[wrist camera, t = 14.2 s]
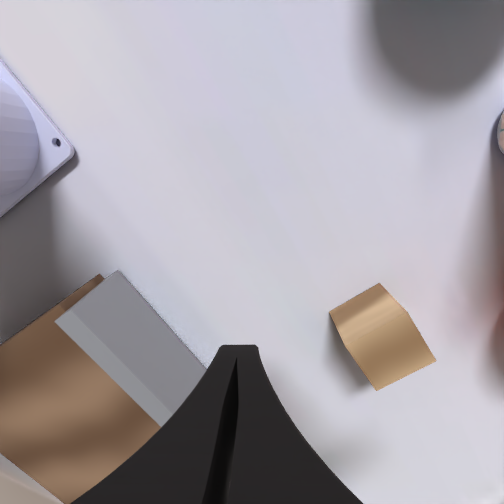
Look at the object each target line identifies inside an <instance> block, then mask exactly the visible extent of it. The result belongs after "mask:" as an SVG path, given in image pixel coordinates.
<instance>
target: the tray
mask: <svg viewBox="0 0 504 504" xmlns="http://www.w3.org/2000/svg"><path fill="white" fill-rule="evenodd" d="M54 322H55V323H56V324H57V325H58V326H59V327H60V328H61V329H62V330H63V331H64V332H65V333H66V334H67V335H68V336H69V337H70V338H71V339H72V340H74V341H75V342H76V343H77V344H78V345H79V346H80V347H81V348H82V349H83V350H84V351H85V352H86V353H87V354H88V355H89V356H90V357H91V358H92V359H93V360H94V361H95V362H96V363H97V364H98V365H99V366H100V367H101V368H102V369H103V370H104V371H105V372H106V373H107V374H108V375H109V376H110V377H111V378H112V379H113V380H114V381H115V382H116V383H117V384H118V385H119V386H120V387H121V388H122V389H123V390H124V391H125V392H126V393H127V394H128V395H129V396H130V397H131V398H132V399H133V400H134V401H135V402H136V403H137V404H138V405H139V406H140V407H141V408H142V409H143V410H144V411H145V412H146V413H147V414H148V415H149V416H150V417H151V418H152V419H153V420H154V421H155V422H156V423H157V424H158V425H159V426H161V427H162V426H163V425H164V424H165V423H166V422H167V421H168V420H169V418H170V417H171V416H172V415H173V414H174V413H175V412H176V410H177V409H178V408H179V407H180V406H181V405H182V403H183V402H184V401H185V399H186V398H187V397H188V396H189V394H190V393H191V392H192V390H193V389H194V388H195V386H196V385H197V384H198V382H199V381H200V379H201V378H202V376H203V375H204V373H205V372H206V369H205V367H204V366H203V365H202V364H201V363H200V362H199V361H198V360H197V358H196V357H195V356H194V355H193V354H192V353H191V352H190V350H189V349H188V348H187V347H186V346H185V345H184V344H183V343H182V341H181V340H180V339H179V338H178V337H177V336H176V335H175V334H174V332H173V331H172V330H171V329H170V328H169V327H168V326H167V324H166V323H165V322H164V321H163V320H162V319H161V318H160V317H159V315H158V314H157V313H156V312H155V311H154V310H153V309H152V308H151V306H150V305H149V304H148V303H147V302H146V301H145V300H144V298H143V297H142V296H141V295H140V294H139V293H138V292H137V291H136V289H135V288H134V287H133V286H132V285H131V284H130V283H129V282H128V280H127V279H126V278H125V277H124V276H123V275H122V274H121V272H120V271H119V270H117V271H116V272H114V273H113V274H111V275H110V276H109V277H107V278H106V279H104V280H103V281H102V282H101V283H100V284H98V285H97V286H96V287H95V288H94V289H92V290H91V291H90V292H89V293H88V294H86V295H85V296H84V297H83V298H82V299H80V300H79V301H78V302H77V303H76V304H74V305H73V306H72V307H71V308H70V309H68V310H67V311H66V312H65V313H64V314H62V315H61V316H60V317H59V318H58V319H56V320H55V321H54Z"/></svg>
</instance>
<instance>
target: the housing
mask: <svg viewBox="0 0 504 504" xmlns="http://www.w3.org/2000/svg"><path fill="white" fill-rule="evenodd" d="M103 280H104V278H103V277H102V276H101V275H100V274H98V275H97V276H96V277H94V278H93V279H91V280H90V281H89V282H87V283H86V284H85V285H83V286H82V287H80V288H79V289H78V290H76V291H75V292H73V293H72V294H71V295H69V296H68V297H66V298H65V299H64V300H62V301H61V302H59V303H58V304H57V305H55V306H54V307H52V308H51V309H50V310H48V311H47V312H46V313H44V314H43V315H41V316H40V317H39V318H37V319H36V320H34V321H33V322H32V323H30V324H29V325H27V326H26V327H25V328H23V329H22V330H20V331H19V332H18V333H16V334H15V335H14V336H12V337H11V338H9V339H8V340H7V341H5V342H4V343H2V344H1V345H0V453H1V454H2V455H3V456H5V457H6V458H7V459H8V460H10V461H11V462H12V463H14V464H15V465H16V466H17V467H19V468H20V469H21V470H22V471H24V472H25V473H26V474H27V475H29V476H30V477H31V478H33V479H34V480H35V481H36V482H38V483H39V484H40V485H41V486H43V487H44V488H45V489H46V490H48V491H49V492H50V493H52V494H53V495H54V496H55V497H57V498H58V499H59V500H60V501H62V502H63V503H64V504H70V503H71V502H73V501H74V500H76V499H77V498H78V497H80V496H81V495H83V494H84V493H85V492H87V491H88V490H90V489H91V488H92V487H94V486H95V485H96V484H98V483H99V482H100V481H102V480H103V479H104V478H105V477H107V476H108V475H109V474H110V473H112V472H113V471H114V470H115V469H116V468H118V467H119V466H120V465H121V464H122V463H123V462H125V461H126V460H127V459H128V458H129V457H131V456H132V455H133V454H134V453H135V452H136V451H137V450H139V449H140V448H141V447H142V446H143V445H144V444H145V443H146V442H147V441H148V440H149V439H150V438H151V437H152V436H153V435H154V434H155V433H156V432H157V431H158V430H159V429H160V428H161V426H159V425H158V424H157V423H156V422H155V421H154V420H153V419H152V418H151V417H150V416H149V415H148V414H147V413H146V412H145V411H144V410H143V409H142V408H141V407H140V406H139V405H138V404H137V403H136V402H135V401H134V400H133V399H132V398H131V397H130V396H129V395H128V394H127V393H126V392H125V391H124V390H123V389H122V388H121V387H120V386H119V385H118V384H117V383H116V382H115V381H114V380H113V379H112V378H111V377H110V376H109V375H108V374H107V373H106V372H105V371H104V370H103V369H102V368H101V367H100V366H99V365H98V364H97V363H96V362H95V361H94V360H93V359H92V358H91V357H90V356H89V355H88V354H87V353H86V352H85V351H84V350H83V349H82V348H81V347H80V346H79V345H78V344H77V343H76V342H75V341H74V340H72V339H71V338H70V337H69V336H68V335H67V334H66V333H65V332H64V331H63V330H62V329H61V328H60V327H59V326H58V325H57V324H56V323H55V322H54V321H55V320H56V319H58V318H59V317H60V316H61V315H62V314H64V313H65V312H66V311H67V310H68V309H70V308H71V307H72V306H73V305H74V304H76V303H77V302H78V301H79V300H80V299H82V298H83V297H84V296H85V295H86V294H88V293H89V292H90V291H91V290H92V289H94V288H95V287H96V286H97V285H98V284H100V283H101V282H102V281H103Z"/></svg>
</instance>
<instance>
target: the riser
mask: <svg viewBox="0 0 504 504" xmlns="http://www.w3.org/2000/svg"><path fill="white" fill-rule="evenodd" d="M329 313H330V315H331V317H332V319H333V321H334V323H335V326H336V328H337V330H338V332H339V334H340V336H341V338H342V341H343V343H344V345H345V347H346V348H347V350H348V351H349V352H350V354H351V355H352V357H353V358H354V360H355V361H356V362H357V364H358V365H359V367H360V368H361V370H362V371H363V373H364V374H365V375H366V377H367V378H368V380H369V381H370V383H371V384H372V386H373V387H374V388H375V390H376V391H377V390H379V389H381V388H383V387H385V386H387V385H389V384H391V383H393V382H395V381H397V380H399V379H401V378H403V377H405V376H407V375H409V374H411V373H413V372H415V371H417V370H419V369H421V368H423V367H425V366H427V365H429V364H431V363H433V362H435V361H436V359H435V358H434V356H433V354H432V353H431V351H430V349H429V348H428V346H427V344H426V343H425V341H424V339H423V338H422V336H421V334H420V332H419V331H418V329H417V327H416V326H415V324H414V322H413V321H412V319H411V317H410V316H409V314H408V312H407V311H406V310H405V309H404V308H403V307H402V306H401V305H400V304H399V303H398V302H397V301H396V300H395V299H394V298H393V297H392V296H391V295H390V293H389V292H388V291H387V290H386V289H385V288H384V287H383V286H382V285H381V284H380V283H378V284H377V285H375V286H373V287H371V288H370V289H368V290H366V291H364V292H363V293H361V294H359V295H357V296H356V297H354V298H352V299H350V300H349V301H347V302H345V303H344V304H342V305H340V306H338V307H337V308H335V309H333V310H331V311H330V312H329Z"/></svg>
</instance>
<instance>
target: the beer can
mask: <svg viewBox="0 0 504 504" xmlns="http://www.w3.org/2000/svg"><path fill="white" fill-rule="evenodd" d="M497 139H498V144H499V148H500V150H501V152H502V153H503V155H504V111H503V113H502V115H501V118H500V120H499V124H498V129H497Z"/></svg>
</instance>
